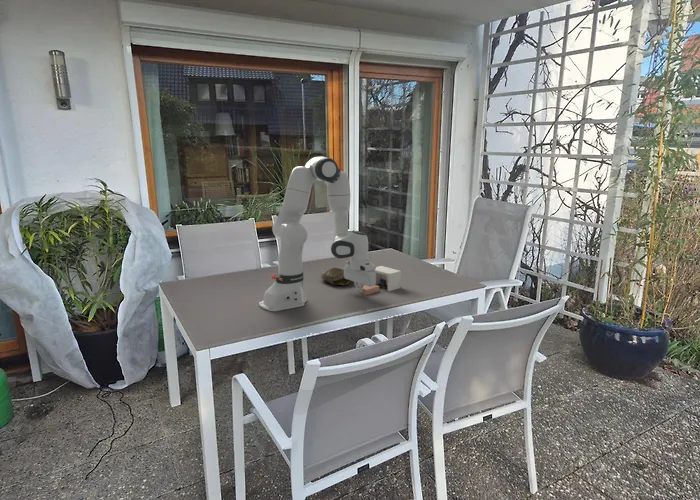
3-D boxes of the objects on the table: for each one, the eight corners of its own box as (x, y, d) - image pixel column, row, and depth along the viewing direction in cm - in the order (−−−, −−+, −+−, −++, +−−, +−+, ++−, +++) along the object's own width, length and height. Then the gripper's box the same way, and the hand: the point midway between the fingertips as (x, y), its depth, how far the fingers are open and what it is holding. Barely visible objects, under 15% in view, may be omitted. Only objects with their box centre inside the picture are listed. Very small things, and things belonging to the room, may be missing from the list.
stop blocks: (393, 288, 229) (393, 283, 229) (379, 284, 237) (380, 279, 236) (396, 287, 231) (396, 283, 230) (382, 283, 238) (382, 279, 237)
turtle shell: (341, 265, 253) (358, 266, 236) (342, 281, 254) (359, 283, 236) (315, 268, 246) (331, 270, 228) (316, 284, 246) (332, 287, 228)
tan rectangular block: (366, 295, 219) (366, 289, 218) (357, 292, 224) (357, 286, 223) (379, 292, 225) (379, 286, 224) (370, 289, 229) (370, 283, 229)
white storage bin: (389, 291, 224) (389, 273, 222) (370, 285, 234) (370, 268, 232) (400, 287, 230) (400, 270, 228) (381, 282, 240) (381, 265, 238)
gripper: (340, 261, 222) (340, 287, 225) (368, 269, 207) (368, 297, 210) (350, 259, 226) (350, 285, 229) (378, 266, 211) (378, 294, 214)
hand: (359, 290), depth 219 cm, fingers closed
